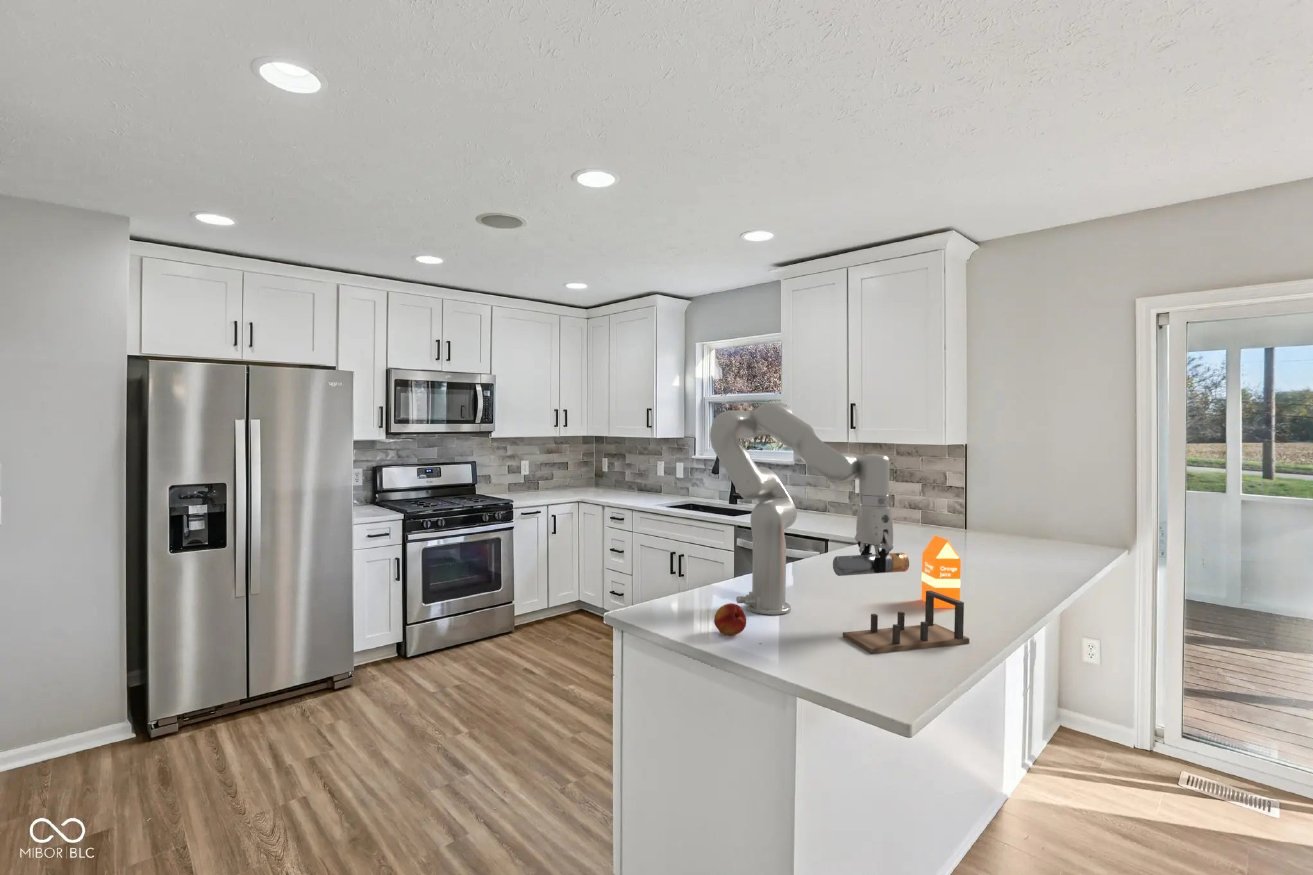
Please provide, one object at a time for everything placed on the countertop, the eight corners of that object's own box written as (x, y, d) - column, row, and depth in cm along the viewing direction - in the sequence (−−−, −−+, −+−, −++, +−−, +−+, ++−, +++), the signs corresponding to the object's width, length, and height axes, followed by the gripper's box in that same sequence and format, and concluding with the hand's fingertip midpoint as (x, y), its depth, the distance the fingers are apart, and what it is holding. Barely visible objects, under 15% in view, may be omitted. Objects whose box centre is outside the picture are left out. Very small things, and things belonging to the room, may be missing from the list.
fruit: (720, 641, 155) (720, 609, 155) (709, 631, 163) (709, 600, 163) (750, 638, 157) (750, 607, 157) (737, 628, 165) (737, 598, 165)
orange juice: (945, 599, 195) (946, 535, 195) (960, 607, 186) (961, 540, 186) (920, 599, 195) (921, 535, 194) (934, 607, 186) (935, 540, 186)
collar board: (871, 653, 148) (872, 610, 148) (842, 637, 159) (843, 596, 159) (969, 643, 156) (970, 602, 156) (934, 628, 167) (935, 589, 167)
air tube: (841, 579, 163) (845, 563, 161) (831, 568, 167) (835, 552, 165) (906, 575, 169) (911, 558, 167) (894, 564, 173) (900, 548, 171)
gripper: (907, 505, 160) (906, 576, 160) (866, 497, 176) (865, 562, 176) (882, 505, 157) (881, 578, 158) (842, 498, 174) (841, 564, 174)
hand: (872, 569), depth 167 cm, fingers closed on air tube, 5 cm apart
